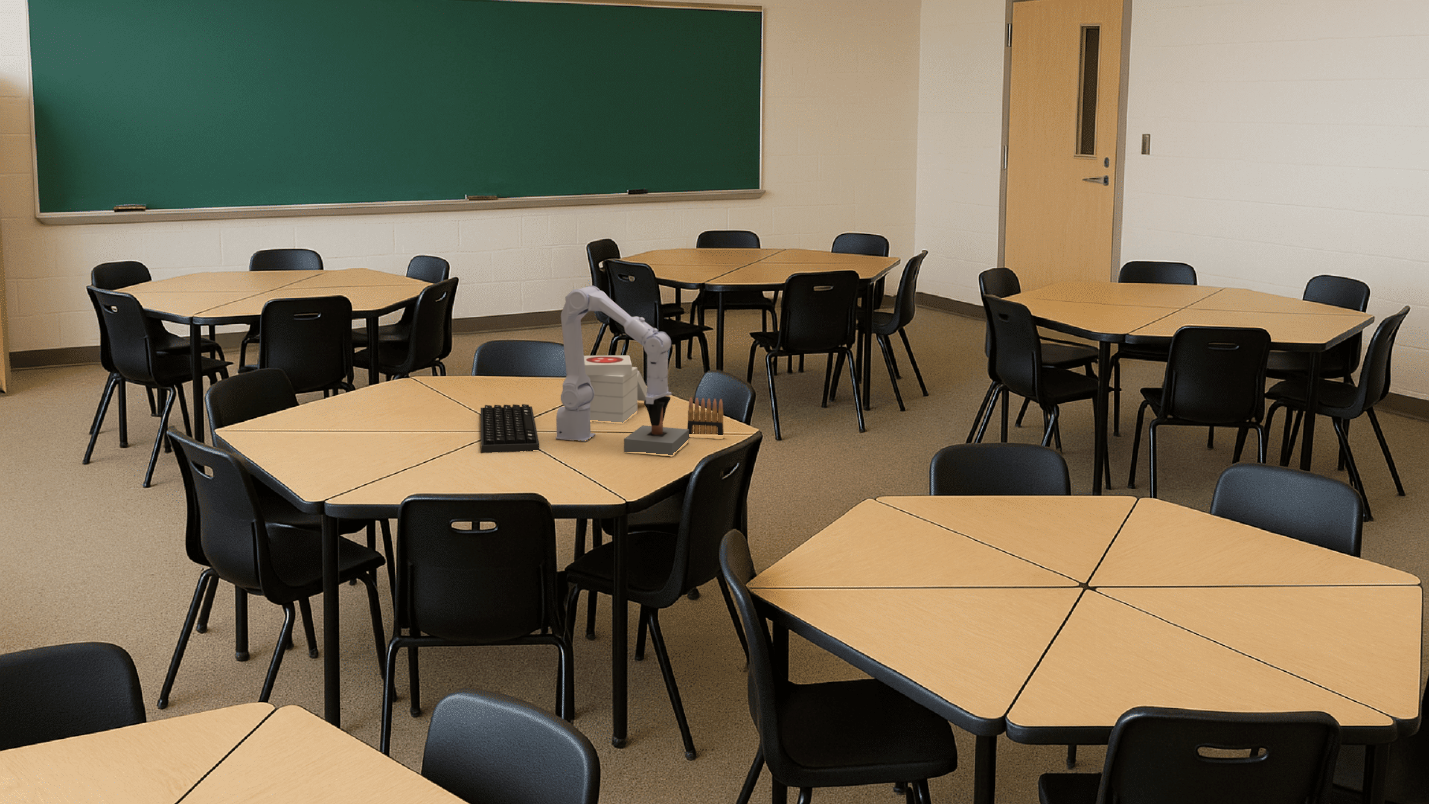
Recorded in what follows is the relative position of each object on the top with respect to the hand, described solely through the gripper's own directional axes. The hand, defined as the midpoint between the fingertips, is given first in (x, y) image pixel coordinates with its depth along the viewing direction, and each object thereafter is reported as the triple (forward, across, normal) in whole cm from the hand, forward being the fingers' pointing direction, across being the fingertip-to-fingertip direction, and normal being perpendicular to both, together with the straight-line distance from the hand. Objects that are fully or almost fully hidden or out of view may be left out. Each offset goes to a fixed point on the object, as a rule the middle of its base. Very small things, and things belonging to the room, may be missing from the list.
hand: (657, 423), depth 327 cm
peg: (+3, 0, 0) cm, 3 cm away
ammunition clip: (+7, +15, -10) cm, 19 cm away
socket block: (+7, 0, 0) cm, 7 cm away
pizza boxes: (+7, +35, +26) cm, 44 cm away
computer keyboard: (+8, +3, +47) cm, 48 cm away
